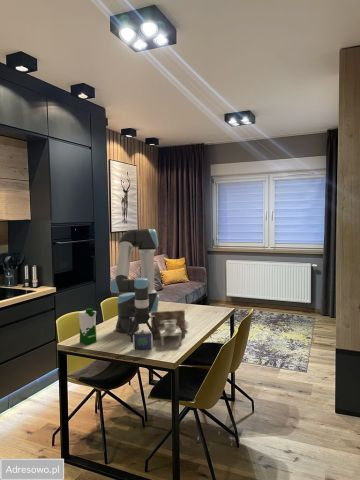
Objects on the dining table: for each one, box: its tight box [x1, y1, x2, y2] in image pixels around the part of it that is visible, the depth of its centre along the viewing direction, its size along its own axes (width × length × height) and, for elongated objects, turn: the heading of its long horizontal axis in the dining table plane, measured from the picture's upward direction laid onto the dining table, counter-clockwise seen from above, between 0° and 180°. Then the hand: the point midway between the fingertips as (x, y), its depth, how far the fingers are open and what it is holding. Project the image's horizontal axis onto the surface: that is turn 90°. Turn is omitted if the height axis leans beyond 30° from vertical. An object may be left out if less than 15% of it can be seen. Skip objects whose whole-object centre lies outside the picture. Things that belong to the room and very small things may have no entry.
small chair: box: [150, 309, 186, 348], centre depth 212 cm, size 20×16×16 cm
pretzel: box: [185, 318, 190, 331], centre depth 232 cm, size 11×12×9 cm
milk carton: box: [77, 307, 98, 346], centre depth 213 cm, size 9×9×20 cm
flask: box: [134, 329, 152, 351], centre depth 201 cm, size 9×3×11 cm, turn 95°
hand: (142, 347), depth 201 cm, fingers closed on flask, 9 cm apart
